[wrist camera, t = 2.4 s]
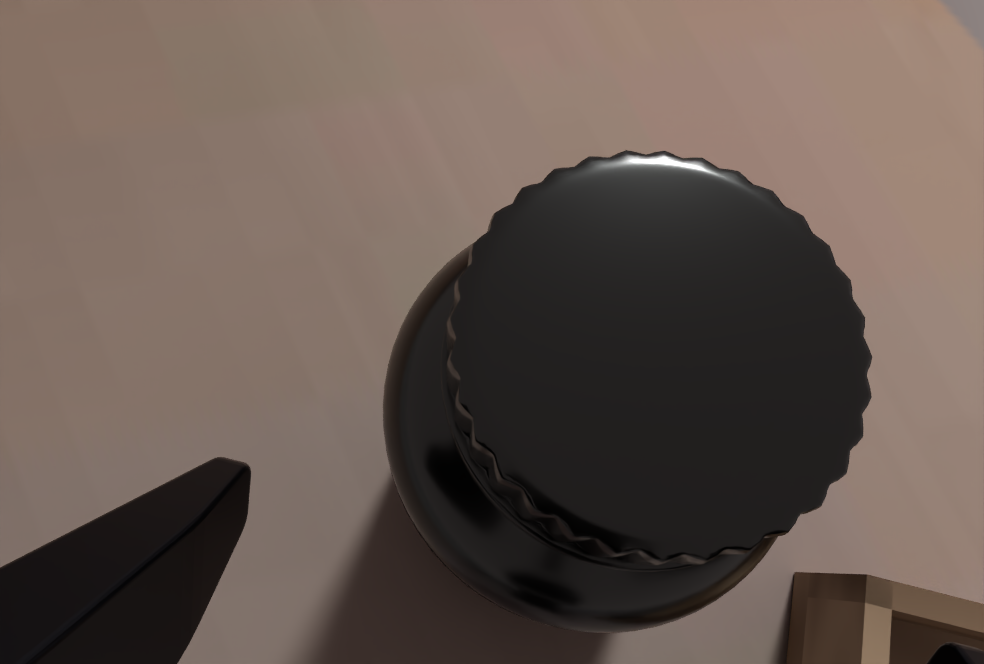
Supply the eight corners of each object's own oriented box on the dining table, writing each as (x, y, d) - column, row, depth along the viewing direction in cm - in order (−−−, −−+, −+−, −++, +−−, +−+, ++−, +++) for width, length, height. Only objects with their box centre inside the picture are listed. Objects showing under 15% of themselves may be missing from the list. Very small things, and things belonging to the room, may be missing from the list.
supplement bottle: (485, 302, 20) (549, -20, 9) (696, 421, 20) (1049, 236, 8) (354, 515, 18) (222, 443, 7) (585, 655, 18) (853, 825, 6)
